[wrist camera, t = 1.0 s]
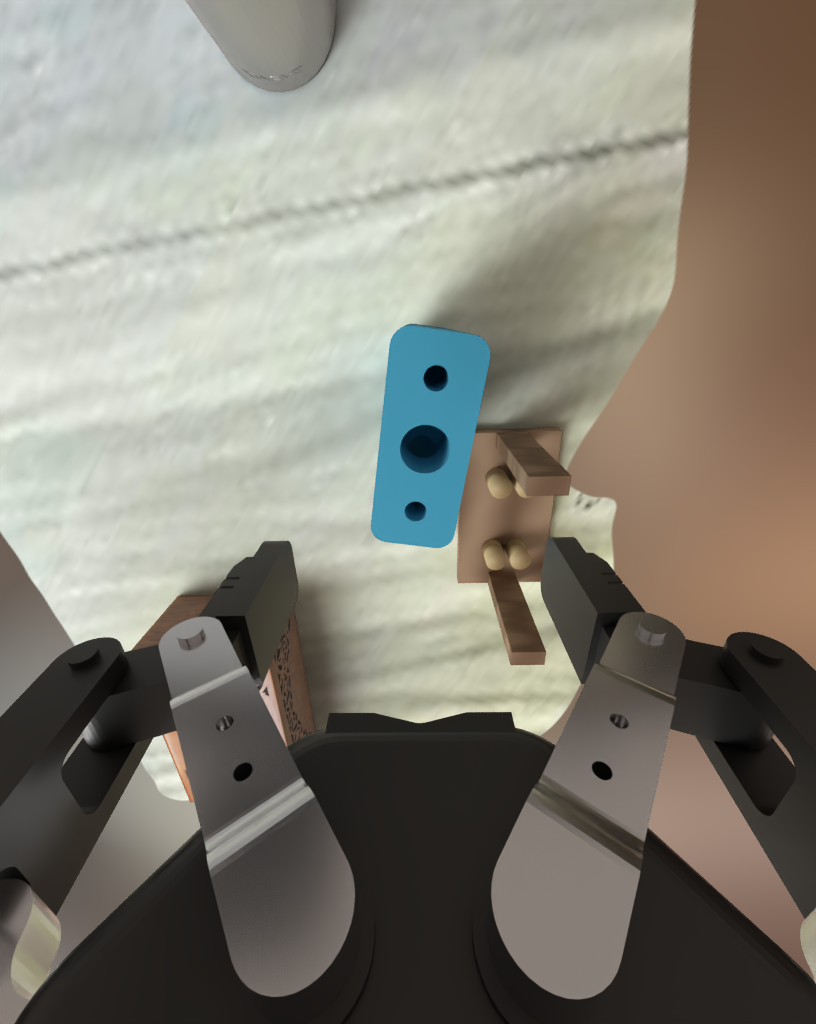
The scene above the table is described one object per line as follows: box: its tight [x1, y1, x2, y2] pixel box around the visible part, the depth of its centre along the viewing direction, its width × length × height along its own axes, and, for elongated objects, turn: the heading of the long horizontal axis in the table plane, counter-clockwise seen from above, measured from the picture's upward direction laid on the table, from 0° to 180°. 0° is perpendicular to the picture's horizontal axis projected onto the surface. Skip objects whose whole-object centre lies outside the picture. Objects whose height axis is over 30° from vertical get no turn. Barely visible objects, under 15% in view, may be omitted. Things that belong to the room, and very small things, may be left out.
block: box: [371, 324, 490, 548], centre depth 31 cm, size 12×5×20 cm, turn 173°
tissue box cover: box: [131, 596, 316, 802], centre depth 52 cm, size 26×14×10 cm, turn 1°
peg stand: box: [457, 428, 571, 665], centre depth 39 cm, size 10×18×14 cm, turn 2°
